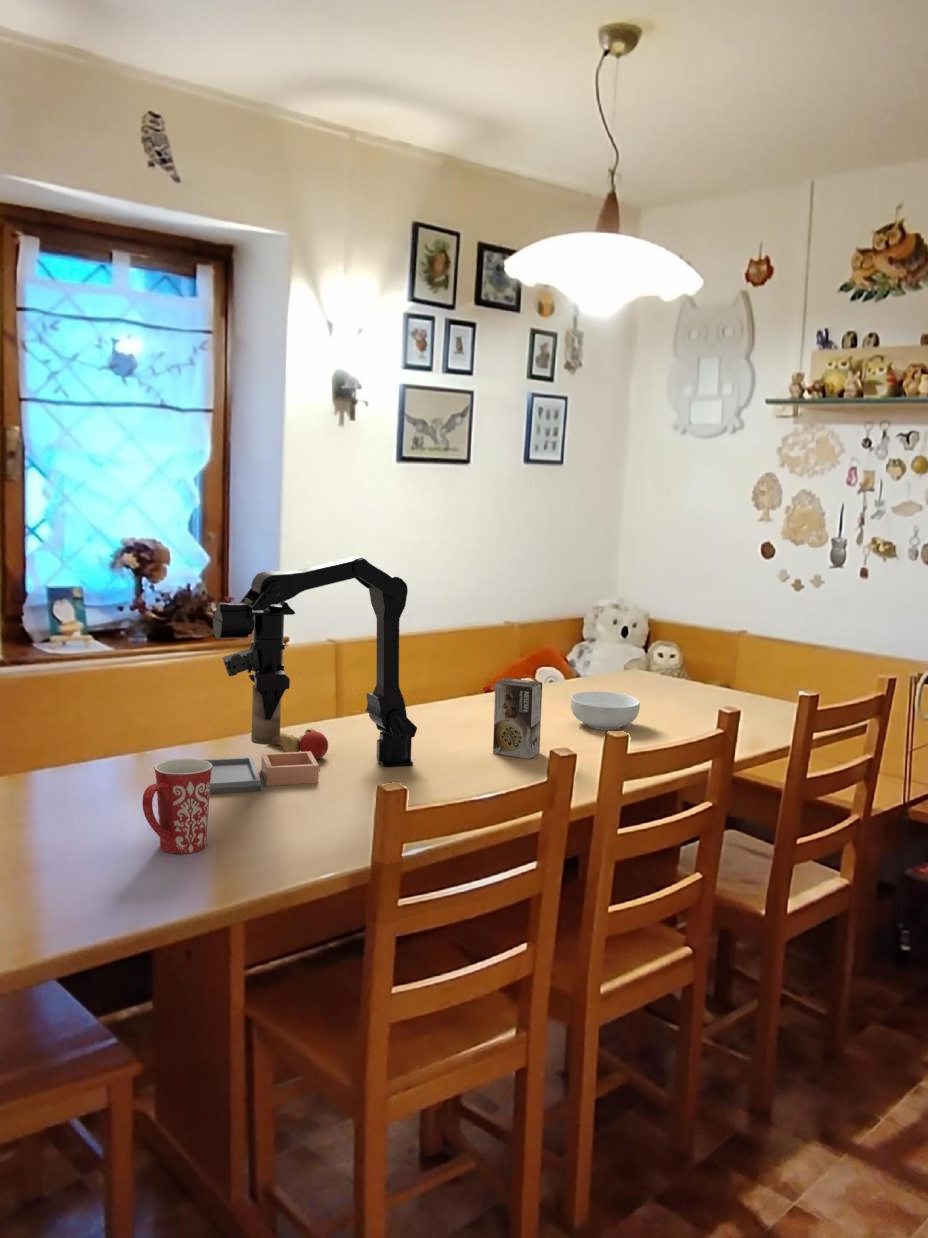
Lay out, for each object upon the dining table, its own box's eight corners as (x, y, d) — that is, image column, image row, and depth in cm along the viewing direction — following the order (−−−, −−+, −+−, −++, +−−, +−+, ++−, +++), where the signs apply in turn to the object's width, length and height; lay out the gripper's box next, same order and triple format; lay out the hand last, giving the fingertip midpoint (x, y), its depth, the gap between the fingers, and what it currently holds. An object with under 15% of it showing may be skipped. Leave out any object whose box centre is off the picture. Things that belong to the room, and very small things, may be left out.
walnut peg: (277, 737, 207) (279, 683, 205) (281, 744, 201) (283, 689, 200) (249, 737, 205) (251, 683, 203) (252, 745, 200) (254, 689, 198)
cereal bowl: (560, 729, 251) (562, 701, 250) (579, 715, 266) (581, 688, 265) (629, 738, 245) (631, 709, 244) (644, 723, 260) (646, 695, 259)
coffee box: (540, 752, 230) (544, 681, 227) (529, 760, 224) (533, 687, 221) (502, 746, 233) (505, 676, 231) (491, 753, 228) (494, 681, 225)
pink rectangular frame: (310, 767, 212) (310, 751, 212) (318, 782, 203) (318, 765, 202) (261, 770, 209) (261, 753, 209) (266, 785, 200) (267, 768, 199)
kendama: (256, 753, 226) (305, 760, 213) (258, 724, 227) (308, 730, 214) (285, 753, 232) (335, 761, 219) (287, 725, 232) (337, 731, 219)
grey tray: (252, 766, 211) (252, 757, 211) (260, 790, 196) (260, 780, 196) (196, 769, 208) (196, 759, 208) (201, 794, 193) (201, 784, 193)
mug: (184, 832, 174) (184, 754, 172) (224, 844, 169) (224, 764, 167) (124, 854, 163) (123, 772, 161) (164, 868, 158) (164, 783, 156)
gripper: (222, 629, 207) (220, 705, 209) (230, 645, 189) (228, 728, 191) (278, 629, 210) (275, 704, 212) (291, 645, 192) (288, 727, 195)
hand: (266, 715), depth 202 cm, fingers closed on walnut peg, 5 cm apart
